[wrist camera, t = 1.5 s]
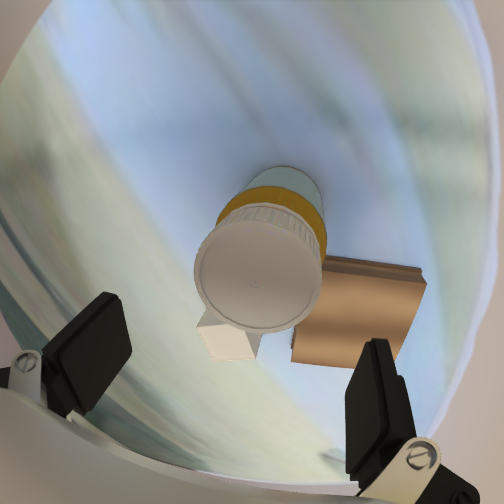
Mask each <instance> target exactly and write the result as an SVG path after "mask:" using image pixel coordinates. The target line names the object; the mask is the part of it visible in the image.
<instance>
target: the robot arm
mask: <svg viewBox="0 0 504 504" xmlns="http://www.w3.org/2000/svg"><path fill="white" fill-rule="evenodd" d="M42 352H43V355H42V356H40V354H39V353H38V352H37V351H34V350H26V351H22V352H20V353H19V354H18V355H16V356H15V357H14V359H13V360H12V363H11V367H6V368H1V369H0V504H480V495H479V493H478V491H477V489H476V488H475V487H474V486H472V485H471V484H469V483H468V482H466V481H465V480H463V479H462V478H461V477H459V476H458V475H456V474H455V473H453V472H452V471H450V470H449V469H447V468H446V467H445V466H443V465H441V464H440V462H441V452H440V449H439V447H438V446H437V444H436V443H435V442H433V441H432V440H430V439H428V438H425V437H417V435H416V430H415V425H414V420H413V415H412V410H411V406H410V401H409V397H408V393H407V389H406V385H405V381H404V378H403V377H402V376H401V375H397V371H396V367H395V363H394V359H393V355H392V352H391V348H390V344H389V341H388V339H382V338H372V339H371V341H370V342H369V341H366V343H365V345H364V347H363V350H362V353H361V355H360V358H359V360H358V363H357V365H356V368H355V370H354V373H353V375H352V377H351V380H350V382H349V384H348V387H347V389H346V392H345V423H346V474H350V481H359V488H360V490H359V491H358V492H357V493H356V494H355V495H354V496H339V495H323V494H308V493H297V492H288V491H280V490H272V489H264V488H259V487H252V486H247V485H242V484H237V483H232V482H227V481H223V480H218V479H214V478H210V477H206V476H202V475H199V474H195V473H192V472H188V471H185V470H181V469H178V468H175V467H172V466H169V465H166V464H163V463H160V462H158V461H155V460H152V459H149V458H147V457H144V456H142V455H139V454H137V453H134V452H132V451H129V450H127V449H125V448H122V447H120V446H118V445H115V444H113V443H111V442H109V441H107V440H105V439H103V438H100V437H98V436H96V435H94V434H92V433H90V432H88V431H87V430H85V429H83V428H81V427H79V426H77V425H75V424H73V423H72V422H71V413H70V412H71V411H72V410H74V411H75V412H77V413H79V414H80V415H82V416H85V415H86V413H87V412H88V411H91V410H92V409H93V408H94V406H95V405H96V403H97V402H98V400H99V399H100V398H101V396H102V395H103V393H104V392H105V391H106V389H107V388H108V386H109V385H110V384H111V382H112V381H113V379H114V378H115V377H116V375H117V374H118V373H119V371H120V370H121V368H122V367H123V366H124V364H125V363H126V362H127V360H128V359H129V358H130V356H131V354H132V346H131V342H130V338H129V334H128V330H127V325H126V321H125V316H124V312H123V307H122V302H121V300H120V299H119V297H118V296H117V295H116V294H113V293H109V292H102V293H101V294H100V295H99V296H98V297H97V298H95V299H94V300H93V301H92V302H91V303H90V304H89V305H88V306H87V307H86V308H85V309H83V310H82V311H81V312H80V313H79V314H78V315H77V316H76V317H75V318H74V319H73V320H72V321H71V322H69V323H68V324H67V325H66V326H65V327H64V328H63V329H62V330H61V331H60V332H59V333H58V334H57V335H56V336H55V337H54V338H53V339H52V340H51V341H50V342H49V343H48V344H47V345H46V346H45V347H44V348H43V349H42Z"/></svg>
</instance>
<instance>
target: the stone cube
mask: <svg viewBox="0 0 504 504" xmlns="http://www.w3.org/2000/svg"><path fill="white" fill-rule="evenodd" d="M196 328H197V330H198V332H199V334H200V336H201V338H202V340H203V342H204V344H205V346H206V348H207V350H208V352H209V354H210V356H211V358H212V360H213V362H214V361H235V360H250V359H256V356H257V352H258V348H259V345H260V341H261V337H262V334H261V333H251V332H246V331H243V330H239V329H237V328H234V327H232V326H230V325H228V324H226V323H225V322H223V321H222V320H220V319H219V318H218V317H216V316H215V315H214V314H213V313H212V312H211V311H210V310H209V309H208V308H206V310H205V312H204V314H203V316H202V317H201V319H200V321H199V323H198V325H197V327H196Z"/></svg>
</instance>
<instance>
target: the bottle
mask: <svg viewBox="0 0 504 504" xmlns="http://www.w3.org/2000/svg"><path fill="white" fill-rule="evenodd" d="M326 246H327V234H326V227H325V220H324V213H323V206H322V200H321V196H320V192H319V190H318V188H317V186H316V185H315V183H314V181H313V180H312V179H311V178H310V177H309V176H308V175H306V174H305V173H304V172H302V171H300V170H298V169H295V168H292V167H283V166H278V167H274V168H270V169H267V170H265V171H264V172H262V173H261V174H259V175H258V176H256V177H255V178H254V179H253V180H252V181H251V182H250V183H249V184H248V185H247V186H245V187H244V188H243V189H242V190H241V191H240V192H239V193H238V194H237V195H236V196H235V197H234V198H233V199H232V200H231V201H230V202H229V203H228V204H227V205H226V207H225V208H224V209H223V211H222V212H221V213H220V215H219V217H218V219H217V222H216V226H215V228H214V229H213V230H212V231H211V233H210V234H209V235H208V236H207V237H206V238H205V240H204V241H203V242H202V244H201V247H200V248H199V249H198V253H197V254H196V259H195V264H194V280H195V285H196V288H197V291H198V293H199V295H200V297H201V299H202V301H203V302H204V304H205V305H206V306H207V308H208V309H209V310H210V311H211V312H212V313H213V314H214V315H215V316H216V317H218V318H219V319H220V320H222V321H223V322H225V323H226V324H228V325H230V326H232V327H234V328H237V329H239V330H243V331H246V332H251V333H261V334H265V333H275V332H280V331H283V330H286V329H289V328H291V327H293V326H295V325H297V324H298V323H300V322H301V321H302V320H303V319H305V318H306V317H307V316H308V315H309V313H310V312H311V311H312V309H313V308H314V306H315V304H316V302H317V300H318V297H319V295H320V290H321V283H322V268H321V265H322V263H323V261H324V259H325V254H326Z"/></svg>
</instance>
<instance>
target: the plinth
mask: <svg viewBox="0 0 504 504" xmlns="http://www.w3.org/2000/svg"><path fill="white" fill-rule="evenodd" d="M321 268H322V283H321V290H320V295H319V297H318V300H317V302H316V304H315V306H314V308H313V309H312V311H311V312H310V313H309V315H308V316H307V317H306V318H305V319H303V320H302V321H301V322H300V323H298V324H297V325H295V328H294V334H293V339H292V344H291V349H292V357H291V362H296V363H303V364H312V365H320V366H330V367H340V368H352V369H355V368H356V365H357V363H358V360H359V358H360V355H361V353H362V350H363V347H364V345H365V343H366V341H369V342H370V341H371V339H372V338H382V339H388V341H389V344H390V348H391V352H392V355H393V359H394V361H395V359H396V357H397V355H398V353H399V351H400V349H401V347H402V345H403V342H404V340H405V338H406V336H407V333H408V331H409V329H410V327H411V324H412V322H413V319H414V317H415V315H416V312H417V310H418V307H419V305H420V302H421V299H422V297H423V294H424V291H425V289H426V286H427V283H426V281H425V280H424V278H423V277H422V275H421V273H422V270H421V268H415V267H408V266H401V265H393V264H386V263H379V262H372V261H365V260H357V259H350V258H343V257H335V256H328V255H325V259H324V261H323V263H322V265H321Z"/></svg>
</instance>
